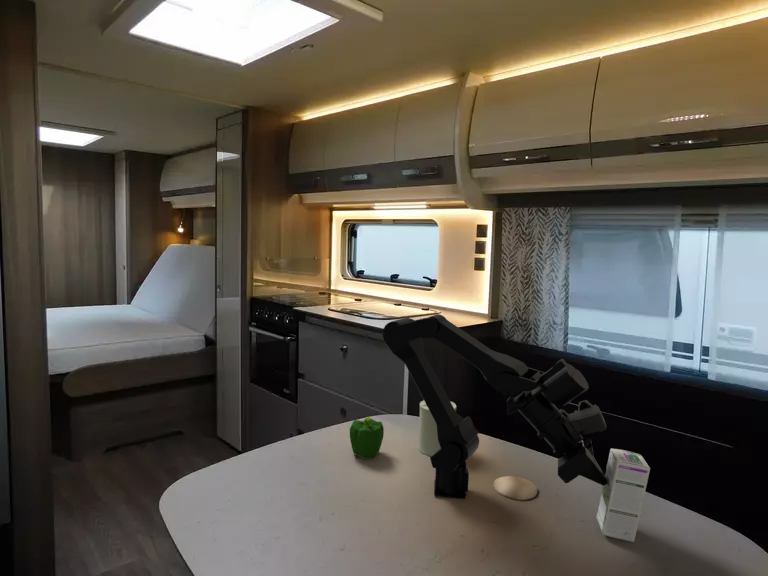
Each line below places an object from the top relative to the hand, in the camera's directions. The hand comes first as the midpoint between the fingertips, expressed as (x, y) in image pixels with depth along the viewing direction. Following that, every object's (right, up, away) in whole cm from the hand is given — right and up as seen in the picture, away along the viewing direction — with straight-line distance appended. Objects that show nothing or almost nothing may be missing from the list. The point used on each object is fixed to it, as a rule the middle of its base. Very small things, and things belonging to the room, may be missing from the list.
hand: (605, 483), depth 93 cm
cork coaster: (-13, -7, +15) cm, 21 cm away
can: (-28, -5, +34) cm, 44 cm away
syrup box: (+2, -9, 0) cm, 9 cm away
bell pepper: (-45, -5, +30) cm, 54 cm away
